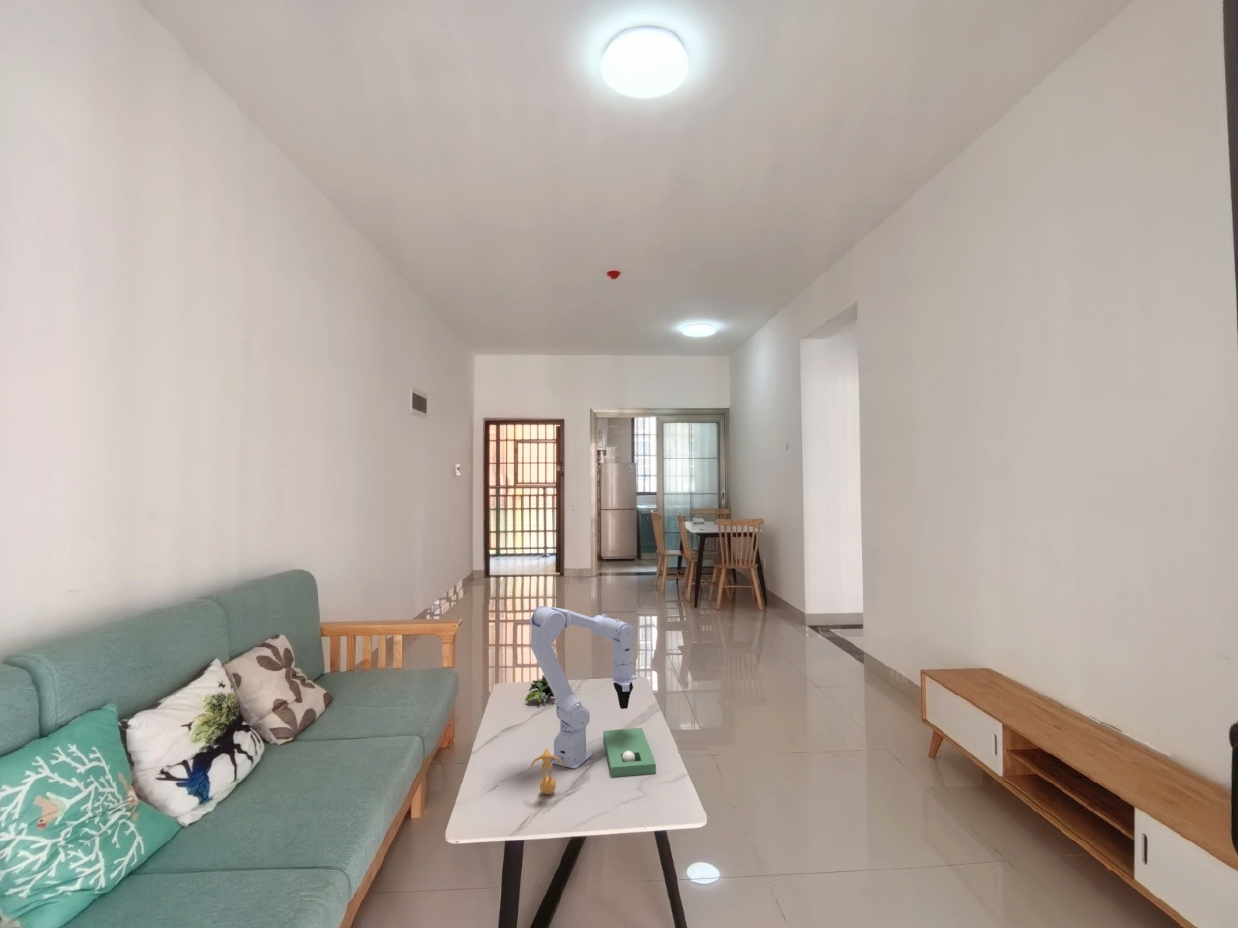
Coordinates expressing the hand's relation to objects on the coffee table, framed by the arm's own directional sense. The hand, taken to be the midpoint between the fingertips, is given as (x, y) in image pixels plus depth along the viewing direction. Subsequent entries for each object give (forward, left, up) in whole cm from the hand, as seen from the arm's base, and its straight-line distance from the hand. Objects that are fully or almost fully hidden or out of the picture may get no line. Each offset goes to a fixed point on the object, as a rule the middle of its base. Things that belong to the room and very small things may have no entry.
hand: (623, 707), depth 178 cm
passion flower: (+18, +42, -11) cm, 47 cm away
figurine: (-35, +3, -11) cm, 37 cm away
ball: (-12, -8, -8) cm, 17 cm away
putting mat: (-7, -5, -10) cm, 13 cm away
